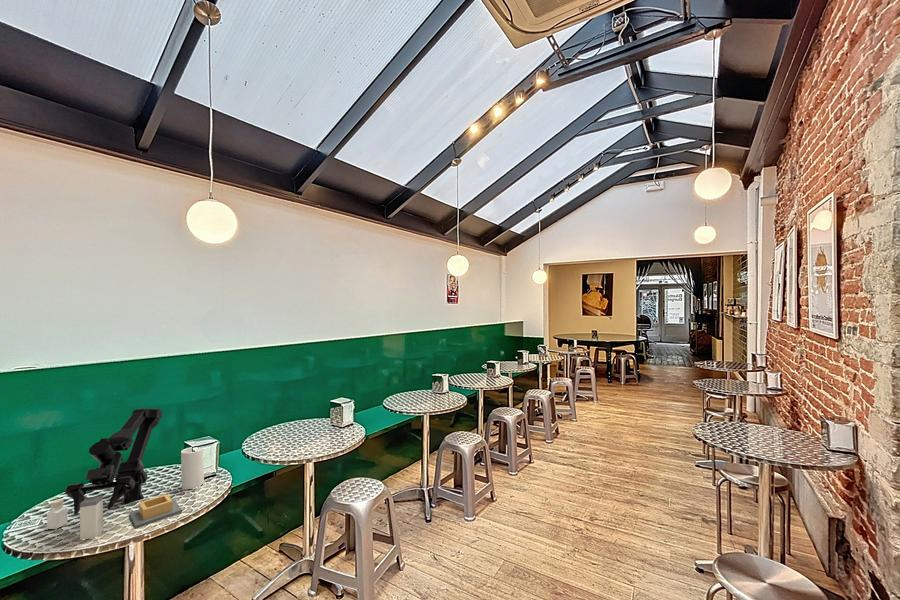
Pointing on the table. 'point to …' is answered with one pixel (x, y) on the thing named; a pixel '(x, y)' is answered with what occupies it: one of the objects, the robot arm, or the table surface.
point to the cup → (192, 468)
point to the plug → (91, 517)
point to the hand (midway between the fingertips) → (92, 511)
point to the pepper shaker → (56, 515)
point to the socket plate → (154, 510)
